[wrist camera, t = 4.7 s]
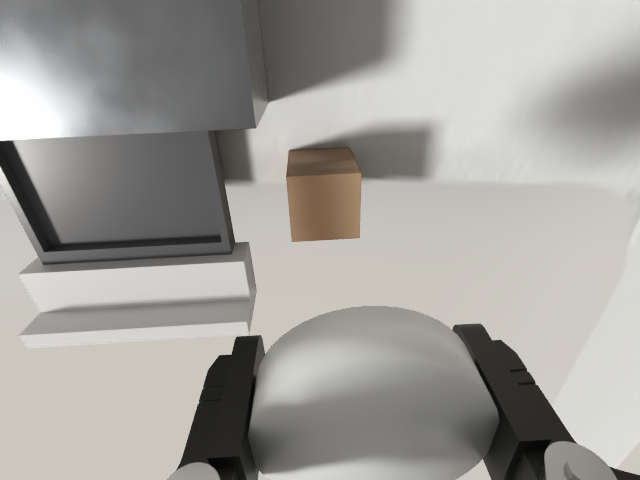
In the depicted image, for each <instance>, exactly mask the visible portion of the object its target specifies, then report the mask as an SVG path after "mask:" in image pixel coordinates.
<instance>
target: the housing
mask: <svg viewBox="0 0 640 480" xmlns="http://www.w3.org/2000/svg"><path fill="white" fill-rule="evenodd" d="M268 103H269V102H268V93H267V83H266V73H265V63H264V54H263V44H262V34H261V25H260V15H259V5H258V0H0V140H18V139H39V138H61V137H82V136H103V135H124V134H145V133H167V132H188V131H209V130H230V129H251V128H256V127H257V125H258V123H259V121H260V119H261V117H262V115H263V113H264V111H265V109H266V107H267V105H268Z"/></svg>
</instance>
